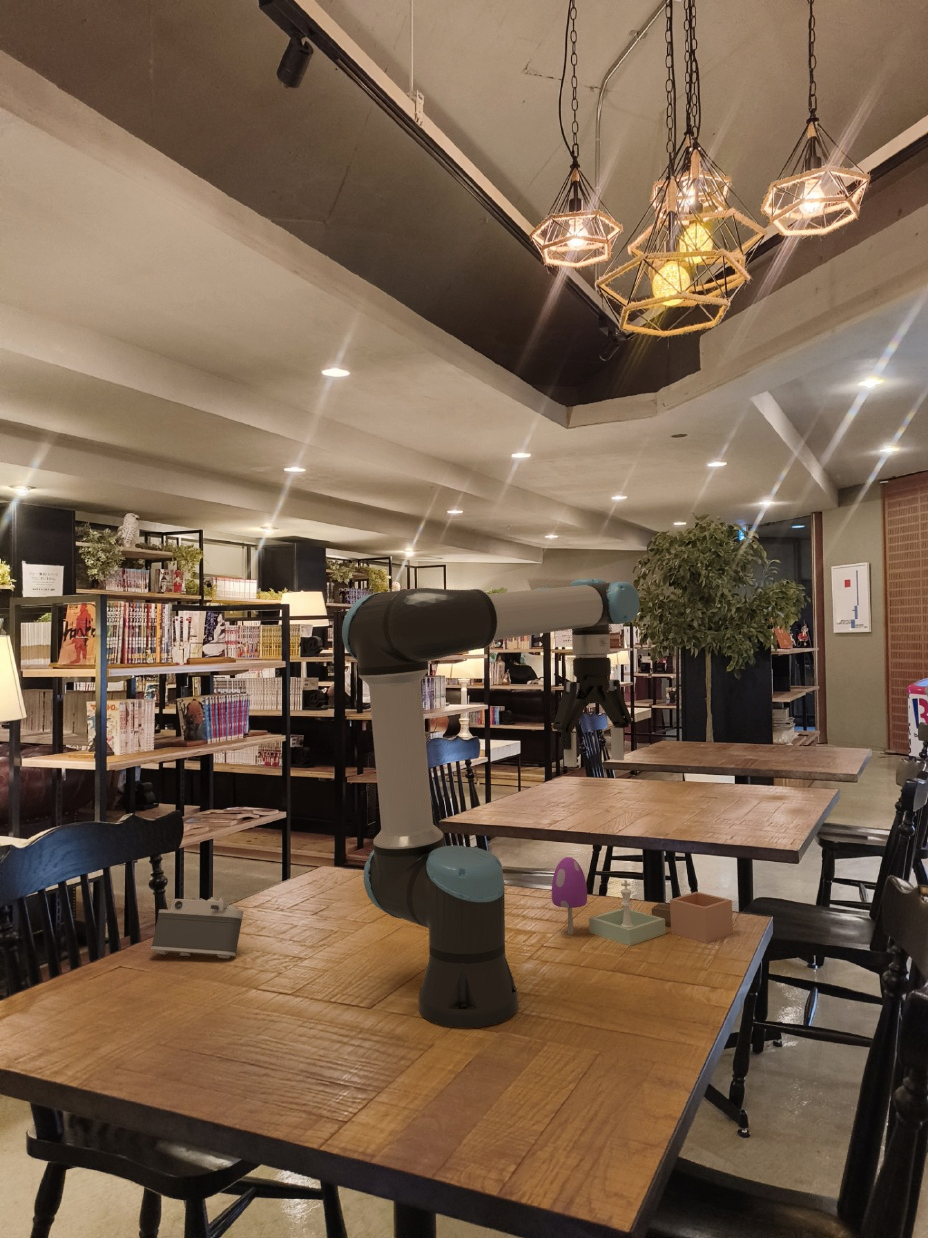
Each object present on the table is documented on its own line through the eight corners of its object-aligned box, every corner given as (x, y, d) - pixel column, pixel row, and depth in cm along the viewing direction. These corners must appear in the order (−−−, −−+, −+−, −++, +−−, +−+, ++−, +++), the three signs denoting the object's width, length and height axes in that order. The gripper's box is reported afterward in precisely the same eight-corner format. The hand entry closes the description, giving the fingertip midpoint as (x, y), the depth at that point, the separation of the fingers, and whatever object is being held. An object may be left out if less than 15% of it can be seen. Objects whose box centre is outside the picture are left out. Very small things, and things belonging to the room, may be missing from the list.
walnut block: (672, 932, 167) (671, 911, 167) (652, 929, 169) (651, 908, 170) (679, 926, 171) (678, 906, 171) (659, 923, 173) (658, 903, 173)
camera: (229, 957, 155) (240, 897, 159) (144, 951, 157) (157, 892, 162) (247, 962, 163) (257, 905, 168) (166, 956, 165) (178, 900, 170)
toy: (590, 943, 162) (588, 861, 162) (554, 943, 162) (552, 862, 162) (586, 931, 168) (584, 853, 169) (551, 932, 169) (549, 854, 169)
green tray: (629, 950, 158) (629, 930, 158) (589, 936, 165) (589, 918, 166) (665, 937, 164) (665, 919, 164) (625, 925, 172) (624, 907, 172)
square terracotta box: (706, 948, 158) (705, 908, 158) (671, 937, 164) (669, 899, 164) (733, 938, 163) (731, 900, 163) (697, 928, 169) (696, 891, 169)
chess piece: (640, 938, 162) (638, 884, 162) (613, 937, 163) (611, 883, 163) (641, 930, 166) (639, 877, 167) (615, 929, 168) (613, 876, 168)
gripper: (560, 657, 164) (563, 771, 164) (647, 655, 180) (650, 758, 179) (533, 658, 170) (535, 767, 169) (619, 655, 186) (622, 756, 185)
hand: (594, 763), depth 174 cm, fingers open, 13 cm apart
